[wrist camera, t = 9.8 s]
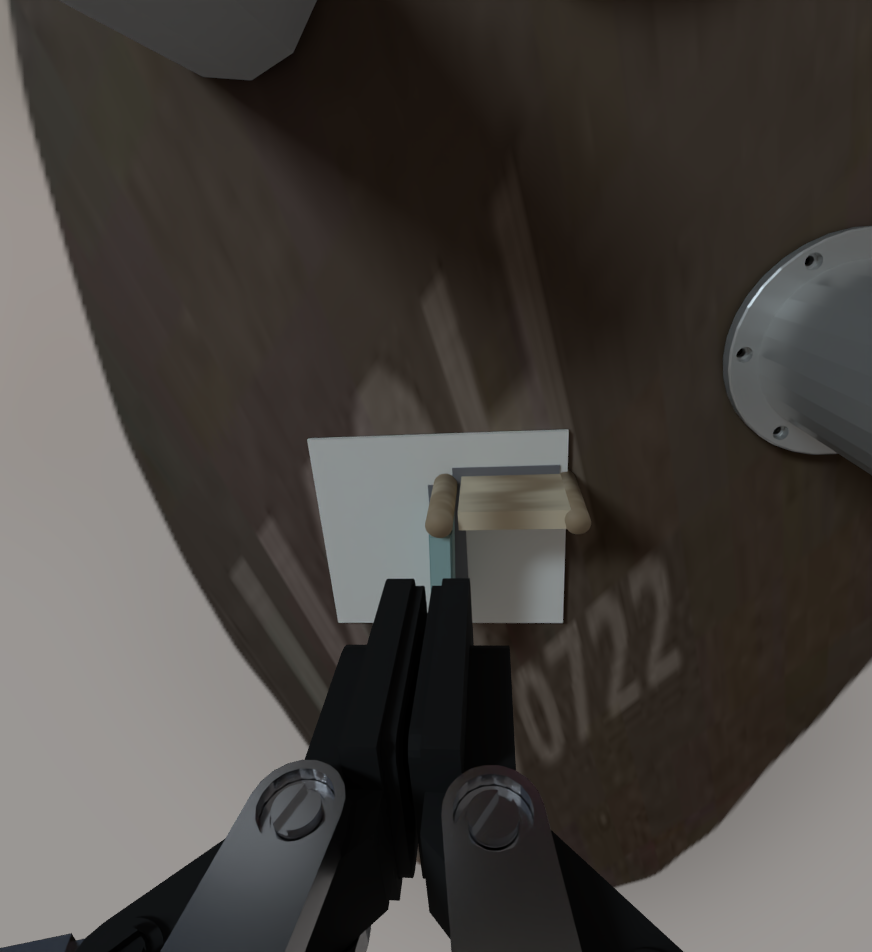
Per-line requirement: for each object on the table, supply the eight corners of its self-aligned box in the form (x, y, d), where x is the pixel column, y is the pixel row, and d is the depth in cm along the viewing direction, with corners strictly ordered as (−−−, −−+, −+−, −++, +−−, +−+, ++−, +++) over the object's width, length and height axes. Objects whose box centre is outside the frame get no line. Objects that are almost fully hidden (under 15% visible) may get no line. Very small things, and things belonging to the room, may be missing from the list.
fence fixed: (576, 468, 36) (591, 510, 31) (575, 490, 37) (590, 535, 31) (433, 472, 37) (423, 513, 32) (434, 493, 38) (426, 538, 32)
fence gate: (435, 502, 37) (427, 538, 33) (455, 502, 37) (451, 539, 33) (438, 607, 41) (432, 652, 36) (457, 607, 41) (453, 653, 36)
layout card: (568, 429, 35) (569, 431, 35) (562, 620, 41) (563, 623, 41) (308, 438, 37) (306, 440, 37) (339, 620, 43) (338, 623, 43)
